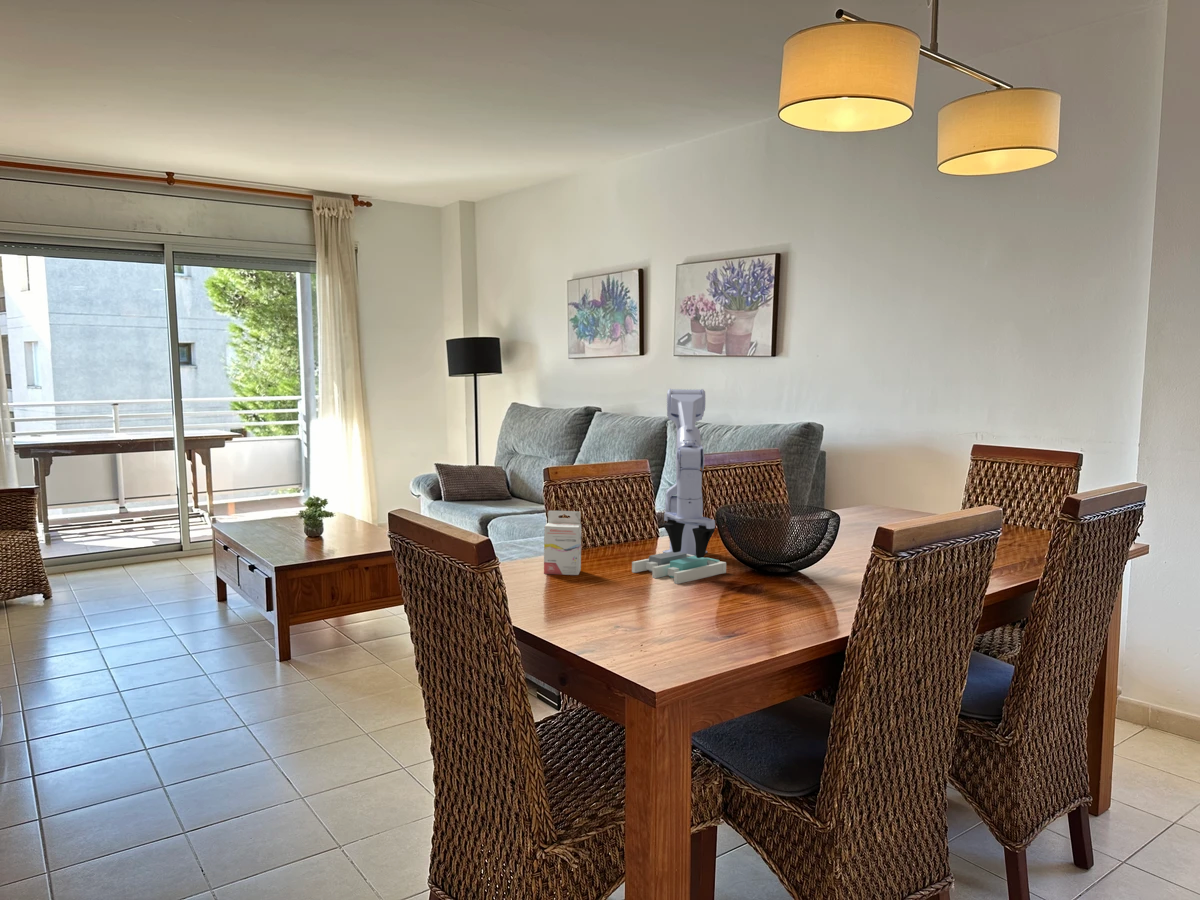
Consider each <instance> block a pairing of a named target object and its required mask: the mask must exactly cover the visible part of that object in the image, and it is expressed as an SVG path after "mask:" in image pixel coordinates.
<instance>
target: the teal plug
mask: <svg viewBox="0 0 1200 900" xmlns="http://www.w3.org/2000/svg"><path fill="white" fill-rule="evenodd" d="M707 558H708V557H704V558H703V557H702V558H697V557H696V555H695V556H691V557H686V558H682V559H677V560H673V561H670V568H667V575H668V576H669V578H672V579H674V572H678V571H683V570H687V569H692V568H697V567H701V566H706V565H709V564H708V562H707Z"/></svg>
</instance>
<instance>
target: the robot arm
mask: <svg viewBox="0 0 1200 900" xmlns="http://www.w3.org/2000/svg"><path fill="white" fill-rule="evenodd" d="M705 411H706V391H705V390H704V388H701V389H696V388H694V389H692V388H690V389H688V388H687V389H682V388H681V389H679V388H677V389H676V388H675V389H673V388H668V390H667V392H666V416H667V420H669V421H670V422H674V424H675V425H674V426H675V428H676V450H675V471H676V473H675V475H676V477H675V483H674V484H673V485H671V486H670V487H669V488H667V490H666V492H665V501H664V503H665V505H664V513H663V521H666V522H664V523H663V528H664V529H665V532H666V533H667V536H668V538H669V549H665V550H662V553H667V552H672V551H673V552H674V553H675V552H682V553H686V554H690V555H695V556H696V557H697V558H702V557H704V558H705V555H706V554H707V553H708V550H707V548H708V545H709V542H710V539H712V536H713V535H714V533H715V530H716V520H715V519H712V518H709V517H706V516H703V515H704V514H703V513H704V509H703V508H704V503H703V501H704V500H703V492H702V488H703V487H702V486H703V485H702V484H703V471H704V467H705V450H704V447H703V444H702V442H701V438H702V437H701V430H700V429H699V428H698V427H697V426H696V422H699V421H701V420H702V419H703V417H704V414H705Z"/></svg>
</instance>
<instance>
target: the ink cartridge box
mask: <svg viewBox="0 0 1200 900" xmlns="http://www.w3.org/2000/svg"><path fill="white" fill-rule="evenodd" d="M581 513H582V512H580V511H577V510H576V511H575V510H548V511H547V523H546V524H545V525H544V531H543V532H544V536H543V574H545V575H564V576H569V575H570V576H579V575H580V572H581V570H582V568H581V567H582V523H581ZM563 515H564V516H568V517H560V516H563Z"/></svg>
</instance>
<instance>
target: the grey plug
mask: <svg viewBox="0 0 1200 900" xmlns="http://www.w3.org/2000/svg"><path fill="white" fill-rule="evenodd" d="M686 557H687V554H686V553H682V552H675V553H674V552H673V551H672V552H667V553H663V552H662V553H657V554H656V553H655V554H651V555H649V557H648V559H649V562H647V563H646V569H647V570H646V571H648V572H649V573H652V567H655V566H660V565H665V564H669V563H670V561H673V560H677V559H682V558H686Z"/></svg>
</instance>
